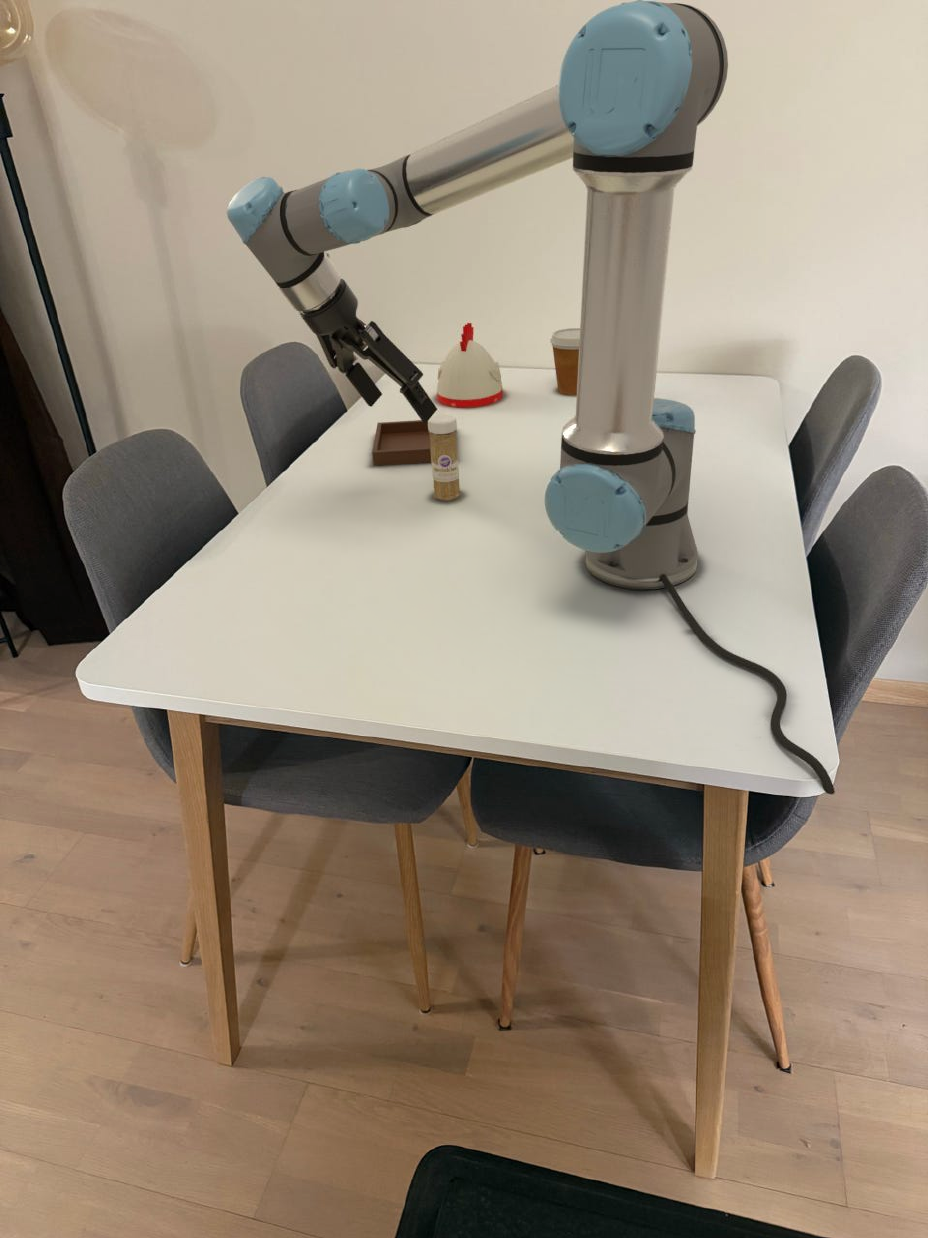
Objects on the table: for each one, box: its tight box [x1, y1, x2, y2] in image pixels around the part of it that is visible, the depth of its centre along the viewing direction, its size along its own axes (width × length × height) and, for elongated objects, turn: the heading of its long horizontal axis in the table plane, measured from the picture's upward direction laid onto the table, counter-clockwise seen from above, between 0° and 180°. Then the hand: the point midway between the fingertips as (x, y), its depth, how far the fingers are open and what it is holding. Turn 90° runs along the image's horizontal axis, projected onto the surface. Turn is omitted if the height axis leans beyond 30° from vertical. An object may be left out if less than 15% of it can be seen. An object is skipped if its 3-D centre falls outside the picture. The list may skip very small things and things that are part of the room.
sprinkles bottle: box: [428, 413, 462, 502], centre depth 146 cm, size 5×5×14 cm
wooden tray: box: [371, 419, 432, 467], centre depth 168 cm, size 16×15×3 cm
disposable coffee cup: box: [550, 327, 580, 396], centre depth 189 cm, size 10×10×12 cm
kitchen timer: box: [436, 322, 503, 409], centre depth 189 cm, size 14×14×15 cm
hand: (402, 407), depth 134 cm, fingers open, 13 cm apart
